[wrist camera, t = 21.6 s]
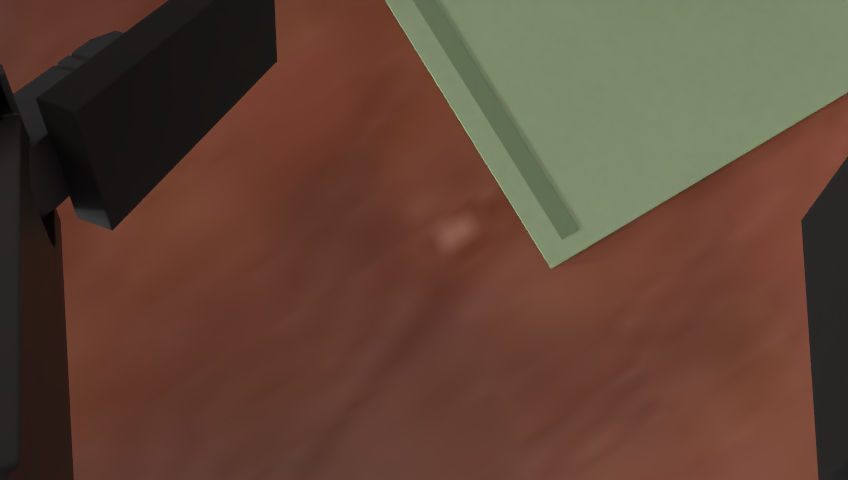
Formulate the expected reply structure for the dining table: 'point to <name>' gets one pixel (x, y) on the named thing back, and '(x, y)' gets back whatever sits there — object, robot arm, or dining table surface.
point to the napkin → (622, 95)
